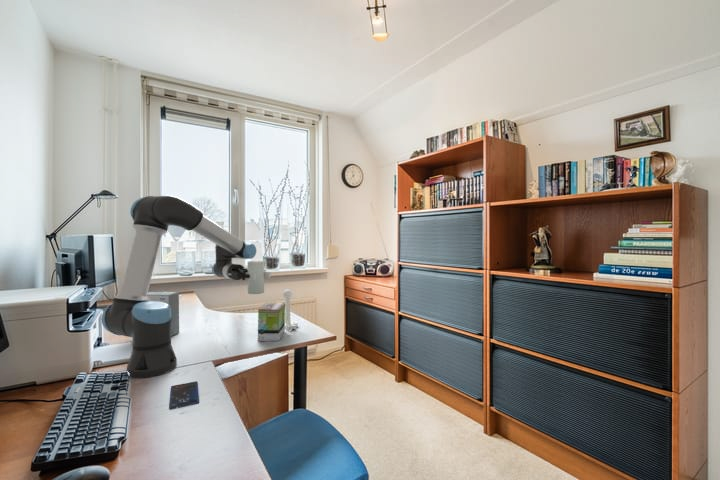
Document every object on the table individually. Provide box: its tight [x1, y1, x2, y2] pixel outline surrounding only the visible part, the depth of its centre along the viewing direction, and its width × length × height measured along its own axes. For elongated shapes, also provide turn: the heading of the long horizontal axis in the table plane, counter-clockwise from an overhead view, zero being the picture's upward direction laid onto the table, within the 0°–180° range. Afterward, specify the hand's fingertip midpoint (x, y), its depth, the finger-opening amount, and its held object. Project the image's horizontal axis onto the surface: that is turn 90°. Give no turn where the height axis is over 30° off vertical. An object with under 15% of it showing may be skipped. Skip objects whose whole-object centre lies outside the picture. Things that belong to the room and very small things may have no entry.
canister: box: [247, 260, 265, 295], centre depth 146 cm, size 7×7×14 cm
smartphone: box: [168, 381, 200, 410], centre depth 98 cm, size 8×1×15 cm
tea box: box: [257, 302, 286, 342], centre depth 155 cm, size 15×10×15 cm
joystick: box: [282, 289, 299, 331], centre depth 169 cm, size 11×8×20 cm
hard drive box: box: [147, 291, 180, 337], centre depth 155 cm, size 16×8×20 cm, turn 84°
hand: (262, 275), depth 143 cm, fingers closed on canister, 7 cm apart
